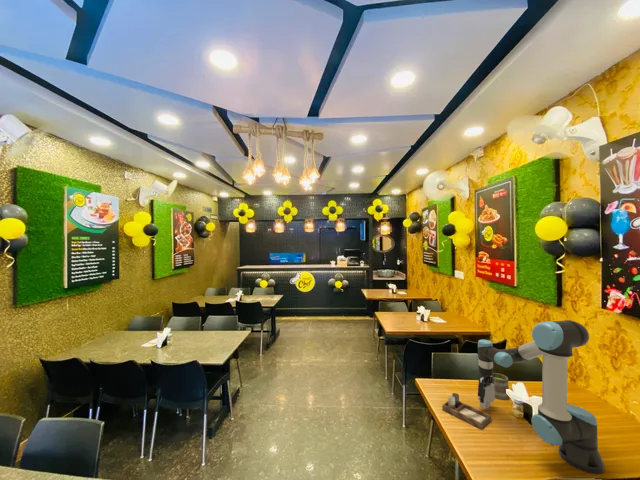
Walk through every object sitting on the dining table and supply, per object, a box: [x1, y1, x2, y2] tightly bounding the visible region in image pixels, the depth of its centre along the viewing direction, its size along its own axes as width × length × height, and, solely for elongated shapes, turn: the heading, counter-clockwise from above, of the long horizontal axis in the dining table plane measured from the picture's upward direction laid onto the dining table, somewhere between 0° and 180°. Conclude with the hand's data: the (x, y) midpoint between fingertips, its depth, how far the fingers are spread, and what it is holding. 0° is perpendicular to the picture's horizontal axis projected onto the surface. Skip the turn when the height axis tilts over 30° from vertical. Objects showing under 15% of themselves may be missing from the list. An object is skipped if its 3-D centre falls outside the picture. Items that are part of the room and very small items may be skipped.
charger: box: [477, 383, 496, 411], centre depth 162 cm, size 5×9×15 cm, turn 112°
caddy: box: [441, 392, 492, 430], centre depth 157 cm, size 22×12×8 cm, turn 36°
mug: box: [493, 372, 510, 400], centre depth 180 cm, size 16×11×12 cm
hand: (486, 404), depth 162 cm, fingers open, 10 cm apart
